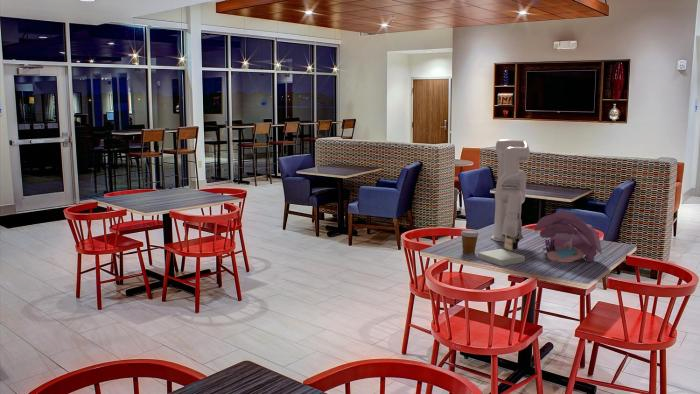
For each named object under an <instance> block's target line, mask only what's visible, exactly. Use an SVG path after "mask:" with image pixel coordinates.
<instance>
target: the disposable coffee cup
mask: <svg viewBox="0 0 700 394" xmlns="http://www.w3.org/2000/svg"><path fill="white" fill-rule="evenodd" d="M460 234H461V246H462V253H463V254H467V255H474V254H475V253H476V248H477V247H476V246H477V243H478V237H479V232H478V230H475V229H462V230H461V232H460Z"/></svg>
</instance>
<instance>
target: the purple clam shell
mask: <svg viewBox="0 0 700 394" xmlns="http://www.w3.org/2000/svg"><path fill="white" fill-rule="evenodd" d="M539 230H541V231H540V232H539V236H540V237H541V238H545V240H544V241H545V242H544V244H545V247H543V248H542V249H541V250H542V251H543V252H544V253H545V254H546V255H547V258H548V259H549V260H551V261H555V260H556V261H555V262H559V263H572V262H575V261H576V260H580V259H582V258H583V260H584V259H586V260H588V261H587V262H589V261H590V263H591V262H594V260H595V257H596V255H597V253H599V254H600V255H602V252H603V251H602V246H601V239H600V236H599V233H598V232H597V230H596V229H595V228H594V227H593V226H592V225H591V224H587V223H586V222H585V221H584V220H582V218H581V217H579V216H577V215H575V214H574V213H573V212H569V211H565V210H561V211H557V212H554V213H553V214H547V215H545V216H543V217H541V218H540V219H539V220H538V221H537V223H536V225H535V229H534V232H537V231H539ZM586 260H585V261H586Z"/></svg>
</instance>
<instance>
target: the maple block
mask: <svg viewBox="0 0 700 394" xmlns="http://www.w3.org/2000/svg"><path fill="white" fill-rule="evenodd" d="M513 242H514V238H513V237H506V238H505V242H504V250H507V251H516V250H518V248H519V246H518V247H517V249H514V250H513Z"/></svg>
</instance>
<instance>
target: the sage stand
mask: <svg viewBox="0 0 700 394" xmlns="http://www.w3.org/2000/svg"><path fill="white" fill-rule="evenodd" d="M477 259H478V260H483V261H484V262H485V261H486V262H488V263H492V264H493V265H498V266H500V267H503V266H509V265H514V264H519V263H525V259H526V257H525V255H522V254H519V253H516V252H512V251H510V250H507V249H502V248H498V249H491V250H484V251H480V252H479V251H478V252H477Z"/></svg>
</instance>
